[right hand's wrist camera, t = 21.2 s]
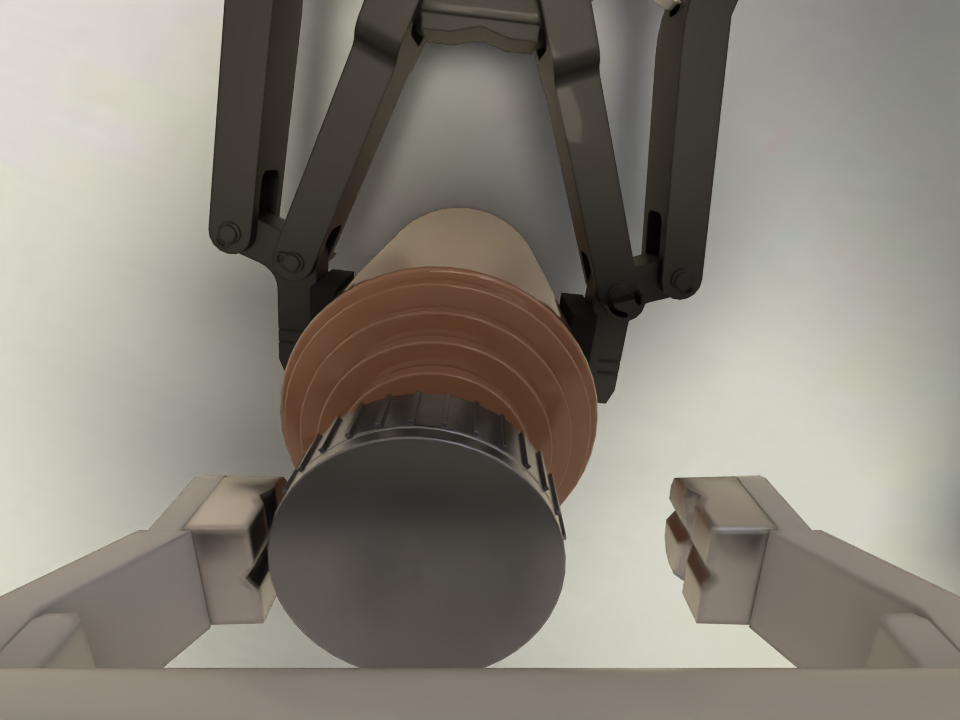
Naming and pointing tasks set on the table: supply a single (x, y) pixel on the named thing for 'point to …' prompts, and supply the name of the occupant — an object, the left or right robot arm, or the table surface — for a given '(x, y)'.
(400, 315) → the bottle
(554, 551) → the cap
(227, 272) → the table surface
